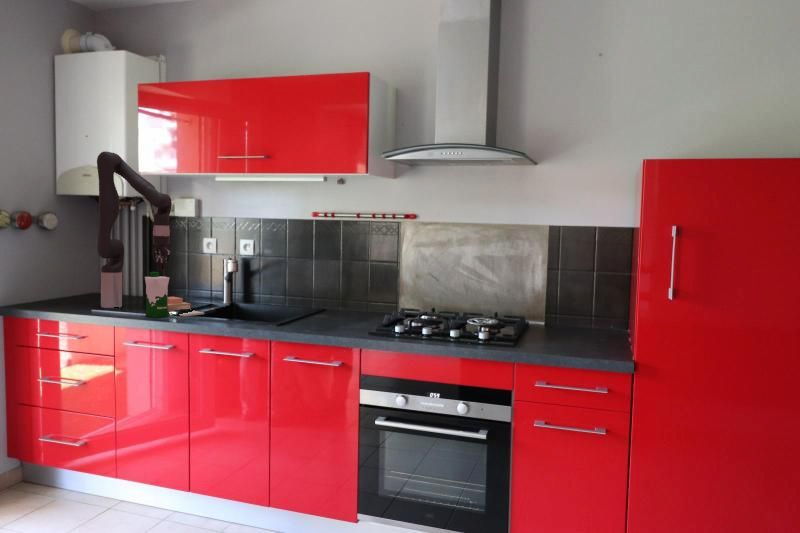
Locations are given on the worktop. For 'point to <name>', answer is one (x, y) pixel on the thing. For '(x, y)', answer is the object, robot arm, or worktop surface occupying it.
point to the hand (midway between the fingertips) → (161, 270)
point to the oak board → (178, 306)
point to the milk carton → (156, 295)
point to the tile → (175, 300)
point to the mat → (192, 313)
